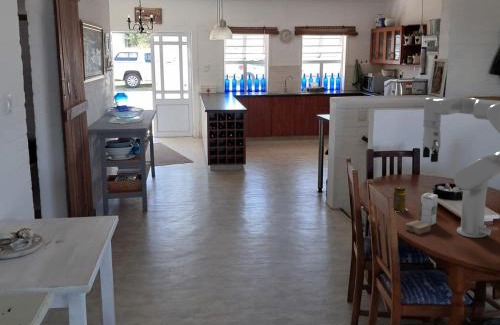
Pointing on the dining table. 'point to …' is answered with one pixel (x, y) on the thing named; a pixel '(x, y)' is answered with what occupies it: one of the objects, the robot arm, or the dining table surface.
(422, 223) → the tan flat square box
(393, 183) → the dining table surface
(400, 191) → the condiment
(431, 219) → the syrup box
